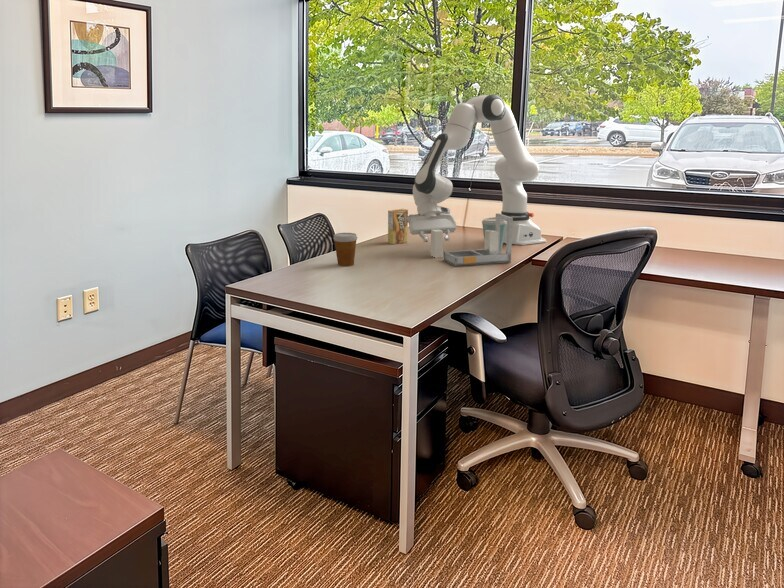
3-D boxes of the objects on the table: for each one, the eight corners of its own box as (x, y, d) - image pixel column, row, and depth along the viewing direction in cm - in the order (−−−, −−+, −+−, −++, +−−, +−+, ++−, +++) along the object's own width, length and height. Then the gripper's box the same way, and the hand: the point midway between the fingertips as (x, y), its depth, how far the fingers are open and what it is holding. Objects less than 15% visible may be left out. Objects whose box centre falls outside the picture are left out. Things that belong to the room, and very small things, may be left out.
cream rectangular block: (438, 255, 269) (438, 229, 266) (442, 257, 265) (443, 231, 262) (430, 255, 268) (430, 229, 265) (434, 257, 264) (435, 231, 261)
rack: (497, 256, 266) (499, 213, 261) (511, 262, 255) (513, 217, 250) (443, 260, 259) (444, 216, 254) (455, 266, 248) (456, 220, 243)
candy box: (402, 241, 300) (402, 208, 296) (408, 242, 297) (408, 209, 293) (387, 243, 295) (387, 210, 291) (393, 244, 292) (393, 211, 288)
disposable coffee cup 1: (333, 262, 256) (333, 232, 253) (357, 261, 257) (357, 232, 254) (333, 267, 247) (332, 236, 244) (358, 267, 248) (357, 236, 245)
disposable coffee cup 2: (486, 255, 268) (488, 220, 264) (476, 250, 278) (477, 216, 274) (509, 254, 270) (511, 219, 266) (499, 249, 280) (500, 215, 276)
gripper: (407, 210, 265) (415, 237, 259) (453, 208, 271) (461, 235, 265) (404, 219, 270) (411, 246, 264) (448, 217, 276) (457, 243, 270)
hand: (436, 240), depth 264 cm, fingers open, 8 cm apart
